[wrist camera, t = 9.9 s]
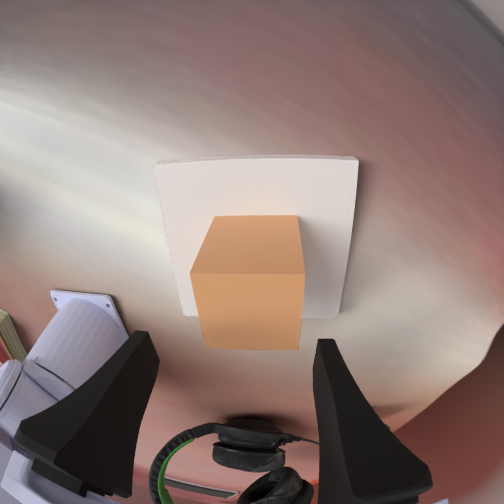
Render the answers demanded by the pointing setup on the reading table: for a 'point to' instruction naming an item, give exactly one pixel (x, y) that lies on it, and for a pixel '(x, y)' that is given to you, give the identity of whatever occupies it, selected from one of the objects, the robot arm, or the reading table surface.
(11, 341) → the hardcover book
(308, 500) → the headset
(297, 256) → the tan wooden cube
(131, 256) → the reading table surface
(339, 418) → the robot arm
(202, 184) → the post plate
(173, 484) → the smartphone
